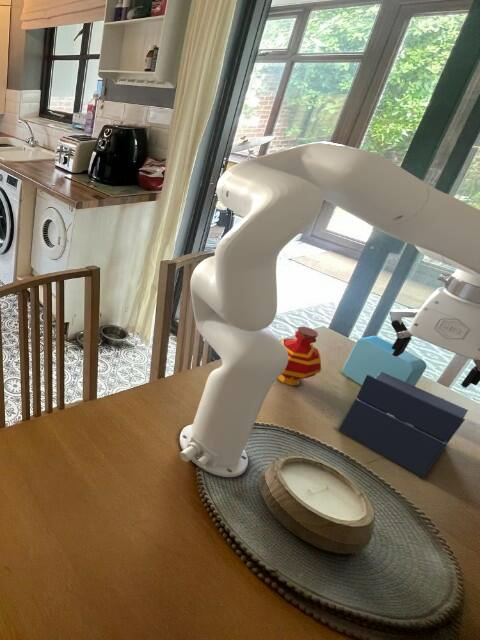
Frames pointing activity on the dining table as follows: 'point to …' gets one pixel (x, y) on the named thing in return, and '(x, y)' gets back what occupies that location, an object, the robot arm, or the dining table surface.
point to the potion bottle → (301, 356)
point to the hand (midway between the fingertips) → (429, 368)
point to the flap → (410, 408)
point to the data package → (382, 362)
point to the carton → (397, 430)
